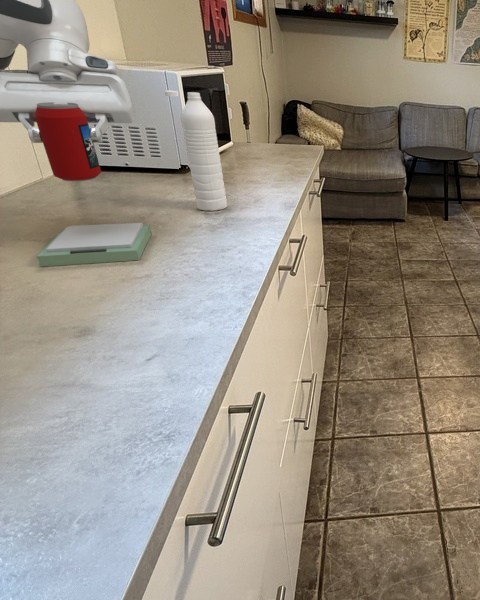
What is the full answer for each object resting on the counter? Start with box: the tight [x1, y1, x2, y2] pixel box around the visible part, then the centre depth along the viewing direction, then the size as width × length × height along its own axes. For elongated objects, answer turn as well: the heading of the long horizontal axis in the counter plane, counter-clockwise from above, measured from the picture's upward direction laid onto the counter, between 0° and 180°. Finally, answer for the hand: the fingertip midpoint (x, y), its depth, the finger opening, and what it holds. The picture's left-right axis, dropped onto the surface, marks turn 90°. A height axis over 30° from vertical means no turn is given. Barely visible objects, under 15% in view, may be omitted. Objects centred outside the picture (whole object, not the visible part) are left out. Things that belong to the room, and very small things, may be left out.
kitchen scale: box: [36, 222, 153, 268], centre depth 85 cm, size 14×14×2 cm
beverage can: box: [35, 102, 102, 182], centre depth 79 cm, size 7×7×12 cm
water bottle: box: [164, 89, 228, 212], centre depth 105 cm, size 9×6×25 cm
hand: (67, 140), depth 79 cm, fingers closed on beverage can, 7 cm apart
